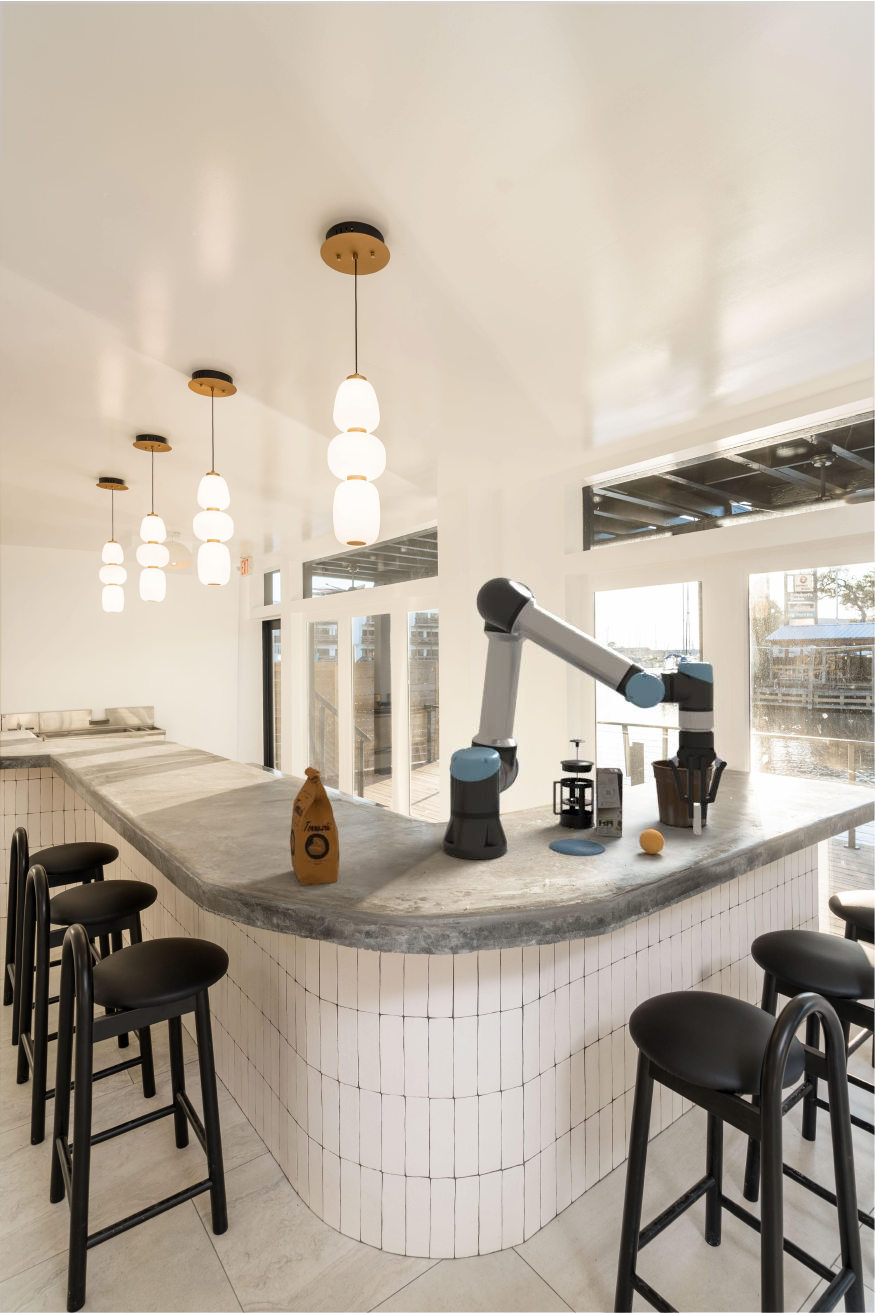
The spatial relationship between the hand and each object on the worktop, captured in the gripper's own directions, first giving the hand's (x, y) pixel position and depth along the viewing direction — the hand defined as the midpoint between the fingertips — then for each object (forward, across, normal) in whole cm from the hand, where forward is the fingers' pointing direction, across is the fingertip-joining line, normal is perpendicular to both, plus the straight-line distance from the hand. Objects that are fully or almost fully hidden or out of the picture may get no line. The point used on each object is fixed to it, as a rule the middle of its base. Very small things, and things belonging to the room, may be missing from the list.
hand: (697, 832), depth 152 cm
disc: (+5, +27, 0) cm, 27 cm away
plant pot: (+6, +1, -32) cm, 33 cm away
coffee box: (+6, +20, -16) cm, 26 cm away
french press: (+5, +29, -21) cm, 36 cm away
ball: (+3, +10, 0) cm, 10 cm away
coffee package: (+5, +78, +36) cm, 86 cm away
